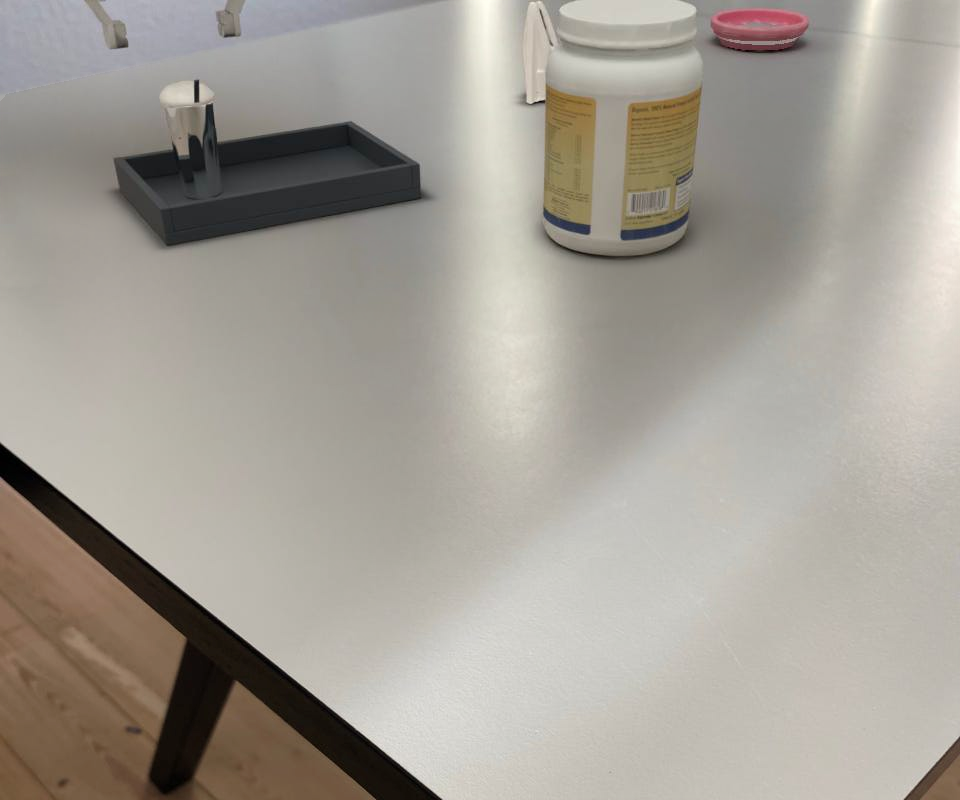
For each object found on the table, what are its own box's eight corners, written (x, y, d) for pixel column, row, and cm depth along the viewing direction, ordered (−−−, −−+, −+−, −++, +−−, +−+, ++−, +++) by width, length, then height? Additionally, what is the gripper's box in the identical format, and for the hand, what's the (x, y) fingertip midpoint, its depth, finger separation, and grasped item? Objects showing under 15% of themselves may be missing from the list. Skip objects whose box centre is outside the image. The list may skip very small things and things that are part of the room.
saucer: (689, 44, 147) (691, 17, 145) (746, 29, 153) (750, 2, 151) (767, 60, 140) (771, 32, 138) (824, 43, 146) (829, 16, 144)
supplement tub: (692, 214, 98) (716, -6, 87) (679, 266, 89) (705, 28, 78) (554, 205, 100) (561, -12, 89) (528, 255, 91) (532, 21, 80)
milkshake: (191, 208, 97) (169, 83, 91) (169, 191, 101) (147, 69, 95) (240, 198, 99) (222, 75, 93) (217, 181, 103) (198, 62, 96)
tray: (167, 245, 93) (160, 209, 92) (120, 191, 104) (113, 158, 102) (421, 198, 102) (419, 164, 100) (353, 152, 112) (351, 120, 111)
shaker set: (612, 85, 131) (619, -23, 124) (627, 94, 128) (635, -16, 121) (516, 95, 128) (517, -15, 121) (528, 104, 125) (530, -8, 118)
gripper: (262, -172, 89) (280, 22, 98) (-5, -164, 82) (41, 46, 91) (290, -166, 85) (307, 37, 94) (12, -157, 77) (58, 63, 86)
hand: (174, 41), depth 92 cm, fingers open, 8 cm apart
